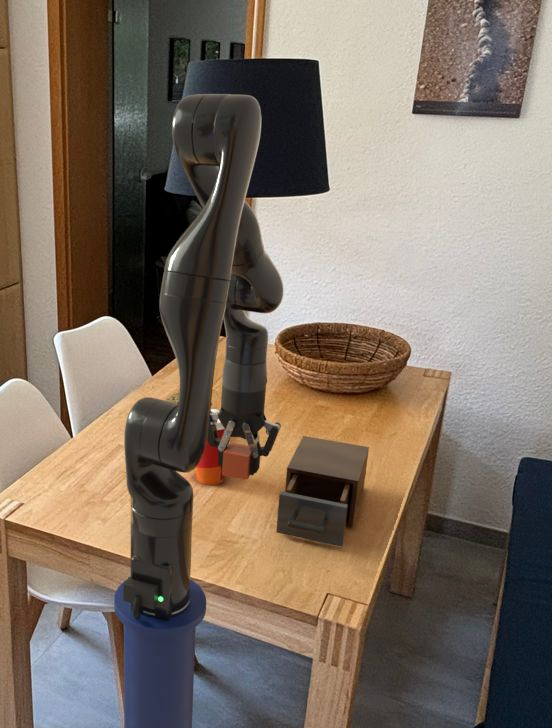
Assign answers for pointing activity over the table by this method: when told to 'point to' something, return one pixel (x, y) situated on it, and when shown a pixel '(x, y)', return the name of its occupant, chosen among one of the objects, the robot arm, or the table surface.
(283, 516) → the drawer
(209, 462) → the paper cup
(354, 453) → the cabinet
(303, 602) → the table surface
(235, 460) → the block
